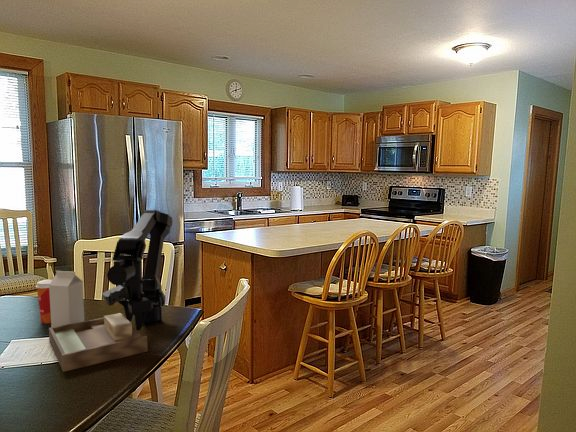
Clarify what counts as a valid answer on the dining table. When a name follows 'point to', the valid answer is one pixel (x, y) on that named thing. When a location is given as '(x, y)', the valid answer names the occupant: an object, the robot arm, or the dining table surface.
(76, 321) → the milk carton
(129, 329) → the cream rectangular block
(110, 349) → the open tray box
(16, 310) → the dining table surface
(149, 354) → the dining table surface
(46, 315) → the paper cup
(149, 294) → the robot arm
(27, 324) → the dining table surface
